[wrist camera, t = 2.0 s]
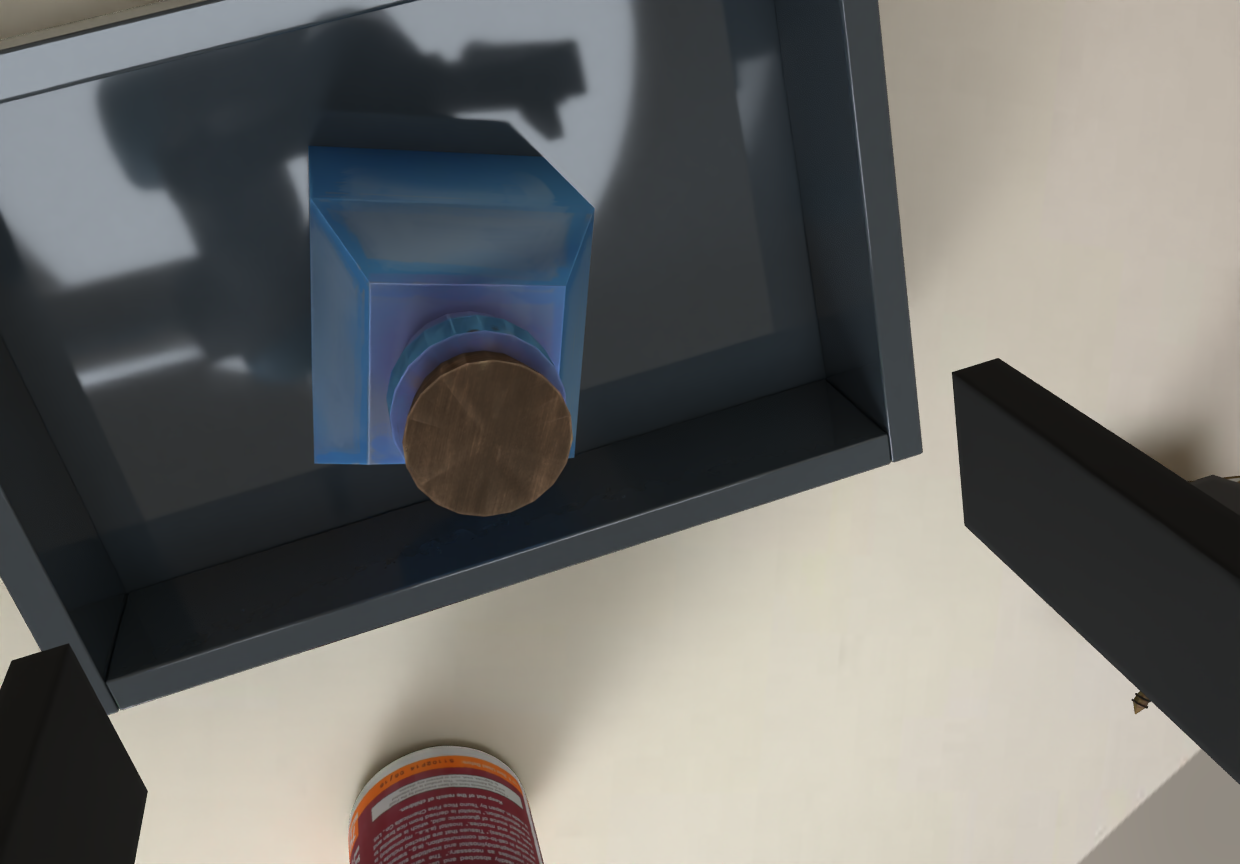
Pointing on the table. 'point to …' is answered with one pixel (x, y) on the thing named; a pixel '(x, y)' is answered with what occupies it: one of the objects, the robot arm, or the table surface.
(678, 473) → the tray
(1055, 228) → the table surface
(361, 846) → the pill bottle
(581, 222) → the perfume bottle
